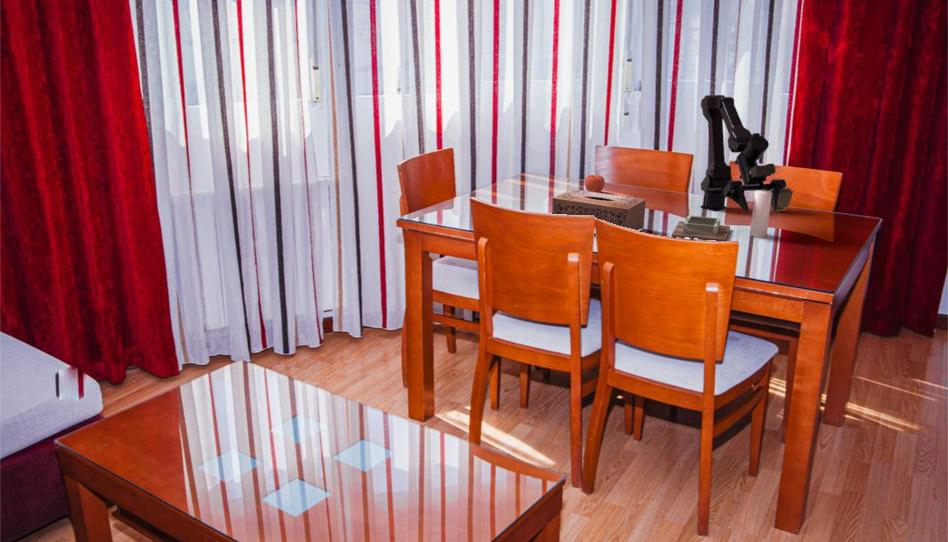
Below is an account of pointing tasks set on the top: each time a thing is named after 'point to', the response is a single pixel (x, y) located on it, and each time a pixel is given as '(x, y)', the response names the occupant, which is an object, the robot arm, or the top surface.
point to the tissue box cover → (602, 207)
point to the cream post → (760, 213)
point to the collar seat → (701, 229)
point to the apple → (594, 183)
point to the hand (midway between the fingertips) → (761, 211)
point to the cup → (784, 199)
